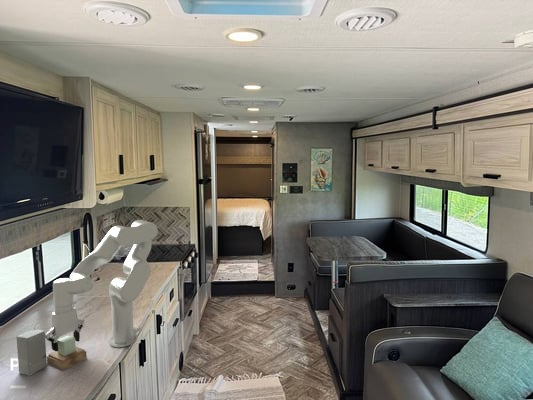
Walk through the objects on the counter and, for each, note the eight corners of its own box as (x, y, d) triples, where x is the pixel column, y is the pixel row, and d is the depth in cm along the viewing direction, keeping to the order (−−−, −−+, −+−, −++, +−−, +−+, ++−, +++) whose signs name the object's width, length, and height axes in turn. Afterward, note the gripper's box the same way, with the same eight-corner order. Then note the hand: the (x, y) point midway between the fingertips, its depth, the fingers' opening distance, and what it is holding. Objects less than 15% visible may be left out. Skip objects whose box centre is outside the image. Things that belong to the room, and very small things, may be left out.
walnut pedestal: (71, 351, 168) (70, 343, 167) (86, 358, 163) (86, 349, 162) (47, 363, 158) (46, 354, 158) (62, 370, 153) (62, 361, 153)
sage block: (68, 348, 163) (67, 335, 163) (75, 350, 161) (75, 337, 160) (57, 353, 159) (56, 339, 158) (64, 356, 157) (64, 342, 156)
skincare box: (29, 376, 149) (26, 339, 147) (17, 372, 151) (14, 336, 149) (48, 365, 156) (46, 330, 155) (36, 362, 159) (34, 327, 157)
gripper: (77, 299, 167) (79, 335, 169) (38, 312, 152) (40, 352, 154) (88, 302, 164) (89, 339, 165) (49, 316, 149) (51, 356, 150)
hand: (66, 345), depth 160 cm, fingers open, 9 cm apart
